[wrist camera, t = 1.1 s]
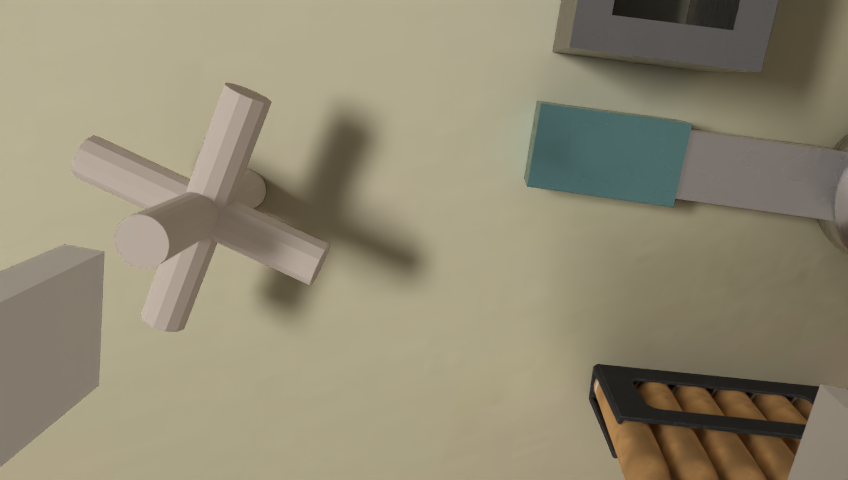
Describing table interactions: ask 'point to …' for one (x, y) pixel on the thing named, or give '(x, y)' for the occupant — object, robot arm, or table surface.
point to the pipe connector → (198, 210)
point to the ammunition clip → (699, 424)
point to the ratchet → (686, 165)
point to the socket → (671, 35)
